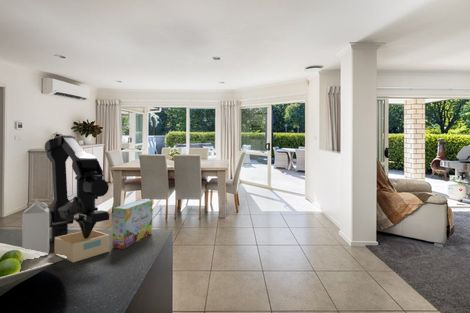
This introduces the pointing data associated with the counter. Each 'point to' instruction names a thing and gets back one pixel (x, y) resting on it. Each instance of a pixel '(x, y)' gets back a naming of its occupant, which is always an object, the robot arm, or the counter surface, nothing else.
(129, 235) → the snack box
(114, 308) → the counter surface
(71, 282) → the counter surface
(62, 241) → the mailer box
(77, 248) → the front flap
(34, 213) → the milk carton
